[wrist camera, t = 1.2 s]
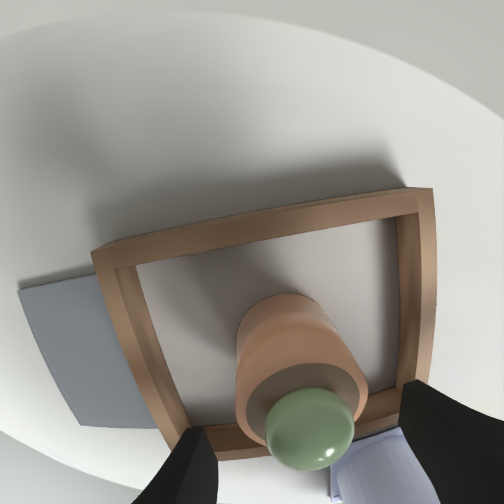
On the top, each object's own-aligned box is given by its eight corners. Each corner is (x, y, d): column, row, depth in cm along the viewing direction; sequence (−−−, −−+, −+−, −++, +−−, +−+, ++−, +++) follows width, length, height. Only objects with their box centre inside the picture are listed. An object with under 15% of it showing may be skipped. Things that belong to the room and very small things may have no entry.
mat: (162, 423, 17) (161, 428, 17) (82, 421, 17) (80, 425, 17) (103, 271, 15) (99, 274, 14) (21, 288, 15) (17, 291, 15)
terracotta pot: (333, 364, 17) (385, 477, 8) (247, 381, 17) (251, 507, 8) (325, 284, 15) (402, 382, 7) (228, 303, 16) (215, 424, 7)
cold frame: (406, 392, 17) (421, 413, 15) (183, 437, 18) (178, 462, 15) (407, 187, 14) (432, 188, 12) (111, 241, 15) (90, 251, 12)
